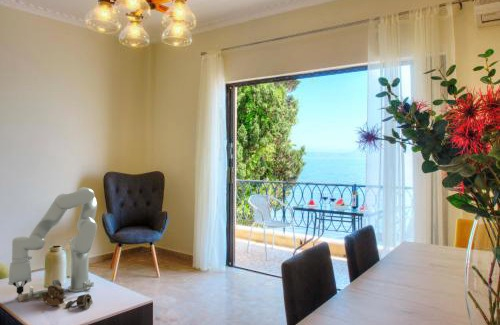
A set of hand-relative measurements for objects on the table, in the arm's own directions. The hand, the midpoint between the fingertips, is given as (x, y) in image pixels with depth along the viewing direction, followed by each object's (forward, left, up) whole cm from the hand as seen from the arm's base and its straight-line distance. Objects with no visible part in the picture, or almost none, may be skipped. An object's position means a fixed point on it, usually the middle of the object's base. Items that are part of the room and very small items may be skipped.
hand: (19, 293), depth 193 cm
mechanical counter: (-38, +4, -4) cm, 38 cm away
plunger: (-5, -3, -2) cm, 6 cm away
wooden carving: (-23, +4, -3) cm, 24 cm away
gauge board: (-7, -7, -3) cm, 10 cm away
